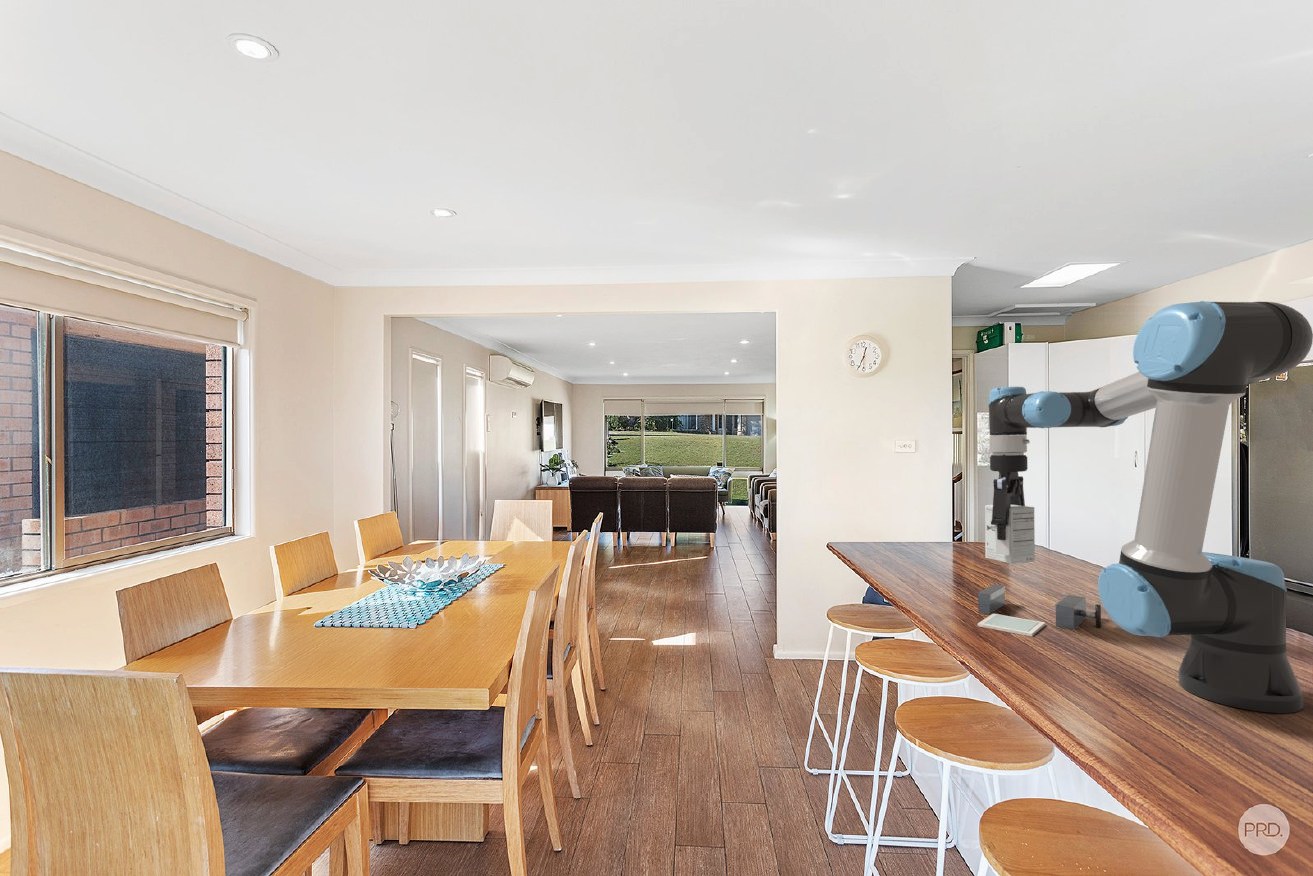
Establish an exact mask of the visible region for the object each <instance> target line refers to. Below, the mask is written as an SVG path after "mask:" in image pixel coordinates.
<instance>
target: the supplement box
mask: <svg viewBox="0 0 1313 876" xmlns="http://www.w3.org/2000/svg"><path fill="white" fill-rule="evenodd" d="M992 511H993V504H986V505H984V527H985V529H984V531H985V532H984V533H985V534H984V540H985V542H984V543H985V544H984V545H985V546H984V548H985V549H984V550H985V559H990V560H995V561H998V562H1002V563H1008V564H1011V565H1013V564H1024V563H1034V562H1035V560H1036V559H1035V558H1036V557H1035V554H1036V552H1035V547H1036V545H1035V543H1036V542H1035V539H1036V538H1035V507H1034V506H1026V505H1025V506H1020V505H1011V506H1010V508H1009V520H1008V526H1010V555H1003V554H996V528H995V525H991V521H992Z"/></svg>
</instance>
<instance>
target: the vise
mask: <svg viewBox="0 0 1313 876" xmlns="http://www.w3.org/2000/svg"><path fill="white" fill-rule="evenodd" d="M1005 592H1006V585H1003V584H997V583H996V584H995V583H993V584H991V585H990V586H988V587H986V588H984V589H982V590H980V591H978V592H977V597H978V598H977V604H978V606H977V607H978V613H979V614H982V615H988V616H990V615H992V614H994V613H995V612H996V611H997V610H999V609H1001V608H1002V607H1004V606H1005V604H1006V601H1005V599H1006V598H1005ZM1086 600H1087V598H1086V596H1081V595H1073V594H1072V595H1071V594H1067V595H1065V596H1064V597H1062V598H1061V599H1060V600H1058V601H1057V602H1055V603H1054V611H1055V627H1058V628H1062V629H1063V628H1064V629H1069V630H1073V631H1074V630H1075V629H1076V628H1077V627H1079V626H1080V624H1081V623H1083V622H1084V620H1085V619H1087V618H1091V619H1095V627H1096V628H1102V606H1101V604H1098V603H1097V604H1095V607H1094V608H1095V611H1089V610H1087V609H1086V605H1087V604H1086V602H1087V601H1086Z"/></svg>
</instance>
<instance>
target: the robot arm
mask: <svg viewBox="0 0 1313 876" xmlns="http://www.w3.org/2000/svg"><path fill="white" fill-rule="evenodd" d="M1312 345H1313V328H1312V326H1311V324H1310V323H1309V320H1308V319H1307V318H1306V317H1305V316H1304V315H1303V314H1302V313H1301V312H1300V311H1298V310H1296V309H1295V308H1293V307H1290V306H1289V305H1287V304H1282V303H1280V302H1273V301H1252V302H1251V301H1205V300H1201V301H1194V302H1192V301H1191V302H1183V303H1182V302H1180V303H1175V304H1171V305H1168V306H1166V307H1163V308H1161V309H1160V310H1158V311H1157V312H1155V313H1154V314H1153V316H1151V317H1149V318H1147V320H1146V321H1145V323H1144V324H1143V325H1142V327H1140V329H1139V331H1138V333H1137V335H1136V338H1135V341H1134V343H1133V348H1132V349H1133V350H1132V355H1133V357H1132V359H1133V361H1134V363H1135V364H1137V366H1136V369H1137V371H1138V372H1135V373H1132V374H1129V375H1128V376H1126V377H1123V378H1121V379H1118V380H1115V381H1113V382H1111V383H1108V384H1106V385H1104V386H1102V387H1098V388H1096V389H1093V390H1091V391H1090V390H1089V391H1078V392H1076V391H1072V392H1069V391H1068V392H1067V391H1066V392H1065V391H1064V392H1063V391H1062V392H1061V391H1060V392H1059V391H1051V390H1049V391H1048V390H1047V391H1038V392H1031V393H1027V389H1026V388H1025V387H1024V386H1003V387H994V388H992V389H990V390H989V398H988V404H987V405H988V420H989V421H988V422H989V425H988V426H989V427H988V428H989V429H988V430H989V452H990V454H991V453H992V455H990V456H989V469H990V470H991V471H993V472H998V479H997V478H995V479H993V496H992V505H993V511H992V521H991V525H995V528H996V554H1003V555H1010V526H1008V520H1009V508H1010V506H1011V505H1020V506H1026V504H1025V494H1024V491H1025V490H1024V477H1023V475H1022V476H1019V472H1020V473H1023V472H1027V470H1028V456H1027V455H1026V454H1025V453H1027V452H1028V445H1027V444H1030V441H1031V440H1030V439H1027V438H1028V437H1027V435H1028V429H1030V428H1031V429H1038V428H1039V429H1052V428H1087V427H1089V428H1091V427H1092V428H1107V427H1115V426H1116V427H1117V426H1119V425H1121V424H1124V423H1125V421H1126V420H1127V419H1129V417H1130V416H1134V415H1137V414H1141V413H1144V412H1147V411H1150V410H1153V409H1155V411H1154V417H1153V422H1152V429H1151V435H1150V441H1149V448H1148V452H1147V453H1148V454H1147V459H1146V465H1145V472H1144V477H1143V485H1142V489H1141V490H1142V491H1141V497H1140V503H1139V508H1138V509H1139V510H1138V516H1137V522H1136V529H1135V534H1134V539H1133V540H1131V541H1129V542H1127V543H1125V544H1123V545H1122V546H1121V549H1120V553H1119V554H1120V555H1119V562H1118V563H1111V564H1110V565H1107V566H1106V567H1105V568H1103V569H1102V570H1101V572H1100V573H1099V576H1098V580H1097V590H1098V595H1099V598H1100V601H1101V604H1102V606H1103V607H1104V609H1105V610H1106V613H1107V615H1108V616H1109V617H1110V618H1111V620H1112V621H1113V622H1114V623H1115V624H1116V625H1117V626H1118V627H1119V628H1121V629H1123V630H1124V631H1125V632H1127V633H1130V634H1132V635H1134V636H1135V635H1136V636H1143V637H1144V636H1146V637H1147V636H1148V637H1155V638H1163V637H1167V636H1190V643H1189V645H1188V647H1187V649H1186V652H1185V653H1184V656H1183V659H1182V660H1181V664H1180V666H1179V669H1178V684H1179V686H1180V687H1181V688H1182V689H1184V690H1185V691H1187V692H1188V693H1191V694H1192V695H1195V696H1197V697H1200V698H1202V699H1205V700H1206V701H1207V700H1208V701H1211V702H1214V703H1217V704H1220V705H1225V706H1228V707H1231V708H1232V707H1233V708H1238V709H1242V710H1247V711H1254V712H1262V713H1269V714H1270V713H1273V714H1290V713H1296V712H1297V713H1298V712H1299V711H1301V710H1303V709H1304V694H1303V691H1302V688H1301V686H1300V684H1299V681H1298V679H1297V677H1296V675H1295V672H1294V670H1293V668H1292V666H1291V663H1290V661H1289V659H1288V655H1287V591H1288V590H1287V587H1286V583H1285V581H1286V580H1285V573H1284V571H1283V570H1282V568H1281V567H1280V566H1278V565H1277V564H1275V563H1272V562H1268V561H1265V560H1260V559H1259V560H1257V559H1253V558H1249V557H1242V556H1236V555H1229V554H1221V553H1215V552H1206V551H1203V548H1204V542H1205V538H1206V537H1205V536H1206V531H1207V527H1208V522H1209V515H1210V510H1211V506H1212V499H1213V495H1214V489H1215V485H1216V484H1215V483H1216V478H1217V472H1218V469H1219V468H1218V467H1219V463H1220V457H1221V450H1222V446H1223V442H1224V441H1223V440H1224V436H1225V429H1226V425H1227V420H1228V413H1229V409H1230V408H1229V407H1230V406H1231V404H1232V403H1233V402H1235V401H1236V400H1239V399H1240V398H1242V397H1243V396H1245V395H1246V393H1247V389H1248V388H1247V387H1248V386H1249V385H1251V384H1254V383H1258V382H1261V381H1264V380H1267V379H1272V378H1274V377H1275V378H1276V377H1277V376H1280V375H1283V374H1286V373H1288V372H1290V371H1291V370H1293V369H1294V368H1296V367H1298V366H1299V365H1300V364H1301V363H1302V362H1303V361H1304V360H1305V359H1306V358H1307V355H1309V353H1310V351H1311V348H1312Z"/></svg>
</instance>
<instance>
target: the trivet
mask: <svg viewBox="0 0 1313 876" xmlns="http://www.w3.org/2000/svg"><path fill="white" fill-rule="evenodd" d="M1045 626H1046V622H1044V621H1038V620H1033V619H1028V618H1027V619H1026V618H1020V617H1015V616H1010V615H1009V616H1008V615H1003V614H999V613H991V614H990V615H988V616H987V617H985V618H984V619H982V620H981V621H979V622H978V623H977V627H980V628H981V627H982V628H985V629H991V630H997V631H1001V632H1007V633H1012V634H1016V635H1022V636H1027V637H1033V636H1035V635H1036V633H1038V632H1039V631H1040V630H1042V629H1043V628H1044V627H1045Z"/></svg>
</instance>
